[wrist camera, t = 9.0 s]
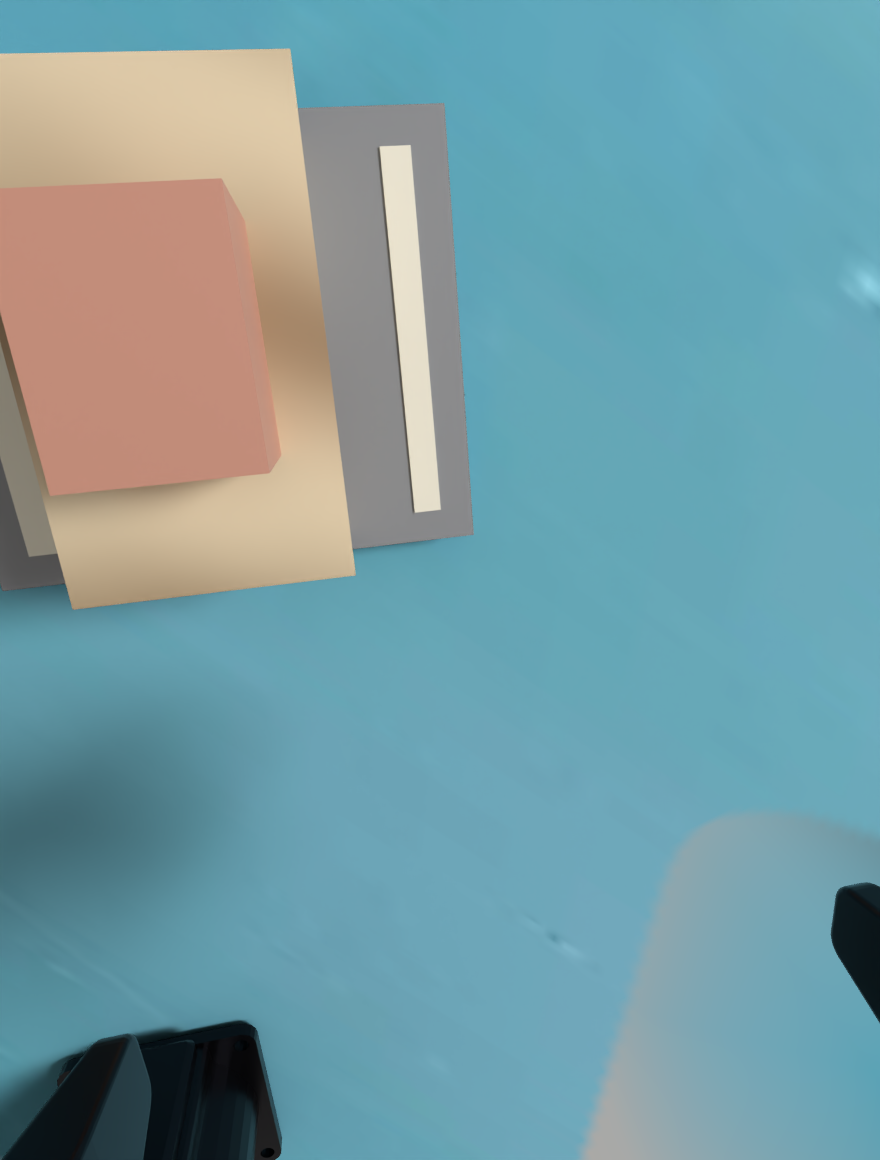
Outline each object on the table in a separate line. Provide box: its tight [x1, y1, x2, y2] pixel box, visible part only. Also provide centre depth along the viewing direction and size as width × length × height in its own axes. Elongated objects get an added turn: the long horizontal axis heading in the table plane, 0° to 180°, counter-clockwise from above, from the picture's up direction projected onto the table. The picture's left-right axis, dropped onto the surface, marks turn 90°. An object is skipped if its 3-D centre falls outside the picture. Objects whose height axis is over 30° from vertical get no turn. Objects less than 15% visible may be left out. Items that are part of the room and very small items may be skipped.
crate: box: [0, 178, 281, 496], centre depth 10 cm, size 4×3×2 cm
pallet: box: [0, 49, 356, 610], centre depth 13 cm, size 9×6×4 cm, turn 4°
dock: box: [0, 103, 474, 591], centre depth 16 cm, size 10×12×1 cm
